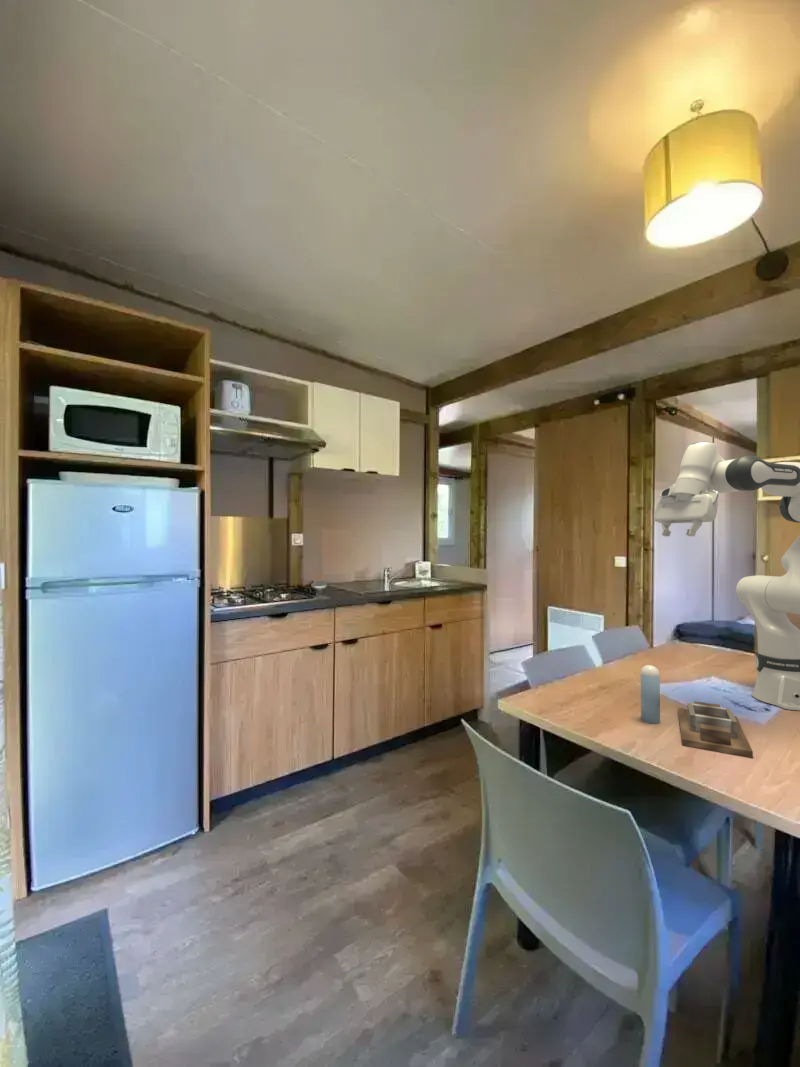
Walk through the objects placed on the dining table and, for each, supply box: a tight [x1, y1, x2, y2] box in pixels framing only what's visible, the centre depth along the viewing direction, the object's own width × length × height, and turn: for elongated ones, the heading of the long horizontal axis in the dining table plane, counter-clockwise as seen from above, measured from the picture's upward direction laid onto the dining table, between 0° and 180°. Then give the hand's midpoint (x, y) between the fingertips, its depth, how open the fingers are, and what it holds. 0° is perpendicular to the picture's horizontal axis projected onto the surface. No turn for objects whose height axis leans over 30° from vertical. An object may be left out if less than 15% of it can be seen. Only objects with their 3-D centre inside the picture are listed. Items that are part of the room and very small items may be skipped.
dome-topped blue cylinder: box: [639, 664, 661, 725], centre depth 130 cm, size 5×5×15 cm
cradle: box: [677, 701, 754, 759], centre depth 121 cm, size 14×24×6 cm, turn 151°
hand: (677, 535), depth 139 cm, fingers open, 8 cm apart
